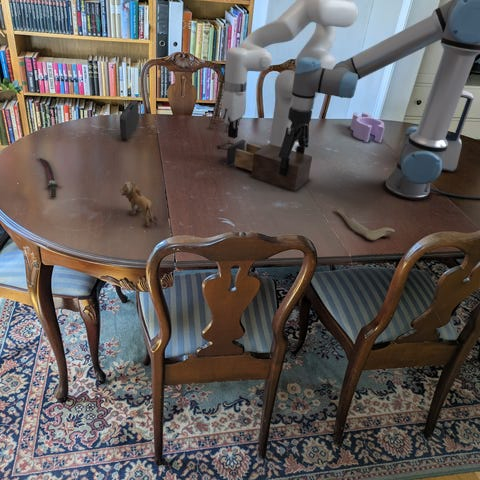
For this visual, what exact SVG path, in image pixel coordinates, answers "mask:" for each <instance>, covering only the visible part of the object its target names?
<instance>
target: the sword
mask: <svg viewBox="0 0 480 480" xmlns="http://www.w3.org/2000/svg"><path fill="white" fill-rule="evenodd" d="M40 161H41V162H42V163H43V165H44V166H45V169H46V173H47V176H48V185H47V188H50V198H56V197H57V189H56V188H57V187H59V185H58V184H57V183H56V180H55V176H54V172H53V169H52V167H51V164H50V163H49V161H48V160H46V159H43V158H40Z"/></svg>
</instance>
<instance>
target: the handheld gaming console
mask: <svg viewBox="0 0 480 480" xmlns="http://www.w3.org/2000/svg"><path fill="white" fill-rule="evenodd" d="M139 105H140V104H139V101H138V100H137V99H132V100H130V102H129V103H128V104H127V105H126V107H125V108H124V109H123V110H122V112H121V113H120V115H119V136H120V140H121V141H127V140H129V138H130V137H131V135H132V134H133V132H134V131H135V129H136V128H137V126H138V124H139V122H140V111H139V107H140V106H139Z"/></svg>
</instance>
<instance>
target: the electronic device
mask: <svg viewBox="0 0 480 480" xmlns="http://www.w3.org/2000/svg"><path fill="white" fill-rule="evenodd" d="M460 98H462V99H463V98H464V99H466V101H465V104H464V107H463V110H462V112H461V115H460V117H459V120H458V124H457V127H456V129H455V132H454V134H448V133H447V134H446V137H445V138H446V140H447V142H448V147H447V149H446V152H445V155H444V157H443V160H442V170H441V171H445V172H449V173H452V172H454V171H456V170H457V168H458V165H459V164H458V163H459V160H460V155H461V151H462V147H463V144H462V139H461V134H462V131H463V129H464V126H465V123H466V120H467V118H468V115H469V113H470V111H471V110H470V109H471V107H472V104H473V101H474V96H473V93H471V92H470V91H467V90H463V91H462V94H461V97H460Z"/></svg>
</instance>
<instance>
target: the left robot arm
mask: <svg viewBox="0 0 480 480" xmlns="http://www.w3.org/2000/svg"><path fill="white" fill-rule="evenodd" d="M358 17H359V8H358V5H357V4H356V3H355V2H354V1H353V0H295V1H294V3H292V4H291V5H290V6H289V7H288V8H287V9H286V10H285V11H284V12H283V13H282V14H281V15H279V17H278V18H277V19H275V20H273V21H270V22H268V23H266V24H264V25H263V26H260V27H258V28H257V29H255V30H253V31H252V32H250V33H249V34H248V35H247V36H246V37H245V38H244V39H243V40H242V41H241V42H240V43H239V45H238V46H232V47H229V48H227V50H226V52H225V66H226V68H225V71H224V72H225V89H224V91H223V94H222V95H223V96H222V97H221V98H222V100H221V104H222V105H220V106H221V109H220V115H221V116H220V119H221V120H224V122H223V124H224V126H226V125H227V130H228V131H227V137H228V138H231V139H235V140H236V139H237V138H238V135H239V127H240V123H241V122H240V121H241V119H242V118H243V117H244V116H245V115H246V109H247V86H248V85H247V84H248V72H257V73H258V72H259V73H260V72H265V71H267V70H268V69H270V66H271V65H272V63H273V57H272V54H271V53H270V51H269V50H267V49H266V47H269V46H271V45H275V44H282V43H287V42H290V41H293V40H294V39H295V38H296V37H297V36H298V35H299V34H300V33H301V32H302V31H304V29H305V28H306V27H308V26H309V25H310V24H312V23H315V29H314V31H313V34H312V35H311V37H310V38H309V40H307V42H306V44H305V45H304V46H303V47H302V49H301V50H300V51H299V53H298V54H297V56H296V58H295V61H294V65H295V67H296V65H297V61H298V60H299V59H300V58H302V57H310V58H314V59H318V60H320V61H321V67H322V68H326V69H333V67H334V66H335V65H336V64H337V60H336V57H335V56H334V55H333V54H332V53H331V52H330V51H331V50H332V48H333V47H334V45H335V42H336V28H344V29H345V28H349V27H351V26H353V25H354V24H355V22H356V21H357V19H358ZM294 73H295V70H291V69H285V70H282V71H281V72H280V73H278V74H277V76H276V78H275V81H274V82H275V83H274V108H273V114H272V115H273V116H272V124H271V130H270V138H269V144H272V145H275V146H278V147H281V146H282V143H283V140H284V137H285V133H286V128H287V127H288V128H290V126H291V124H292V122H291V121H290V120H289V119H288V114H289V108H290V107H291V106H290V102H291V98H290V96H291V95H292V89H293V82H294ZM319 95H320V93H317V92H316V93H315V99H316V98H317V97H318V96H319ZM297 146H300V145H299V144H298V141H295V143H294V146H293V148H292V151H295V152H296V151H297Z"/></svg>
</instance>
